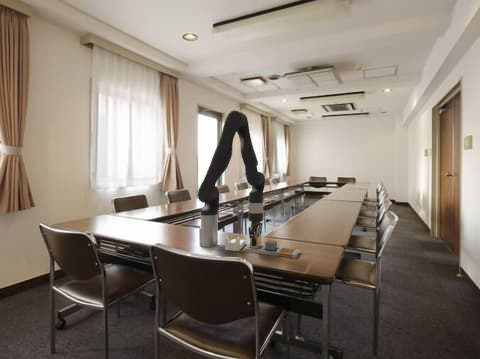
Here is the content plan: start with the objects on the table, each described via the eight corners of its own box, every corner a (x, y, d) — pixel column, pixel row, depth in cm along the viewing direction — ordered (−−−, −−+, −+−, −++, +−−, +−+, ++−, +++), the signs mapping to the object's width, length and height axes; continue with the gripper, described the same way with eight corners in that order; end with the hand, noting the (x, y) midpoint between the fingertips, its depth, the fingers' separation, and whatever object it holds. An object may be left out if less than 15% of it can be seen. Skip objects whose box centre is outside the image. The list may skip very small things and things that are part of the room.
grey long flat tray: (243, 253, 137) (243, 248, 137) (250, 248, 145) (250, 243, 145) (295, 260, 126) (295, 254, 126) (299, 254, 135) (299, 249, 135)
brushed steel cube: (265, 252, 135) (265, 242, 135) (268, 250, 139) (268, 240, 139) (274, 253, 133) (274, 243, 133) (276, 251, 137) (276, 241, 137)
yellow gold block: (249, 248, 138) (249, 236, 138) (253, 246, 142) (253, 234, 142) (258, 250, 136) (258, 237, 136) (261, 247, 140) (261, 235, 140)
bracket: (238, 253, 138) (238, 238, 138) (225, 252, 140) (225, 237, 140) (245, 246, 150) (245, 232, 150) (232, 245, 152) (232, 231, 152)
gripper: (254, 208, 146) (253, 240, 147) (243, 212, 133) (243, 247, 134) (267, 209, 143) (267, 242, 144) (257, 214, 130) (257, 249, 131)
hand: (255, 244), depth 139 cm, fingers closed on yellow gold block, 4 cm apart
